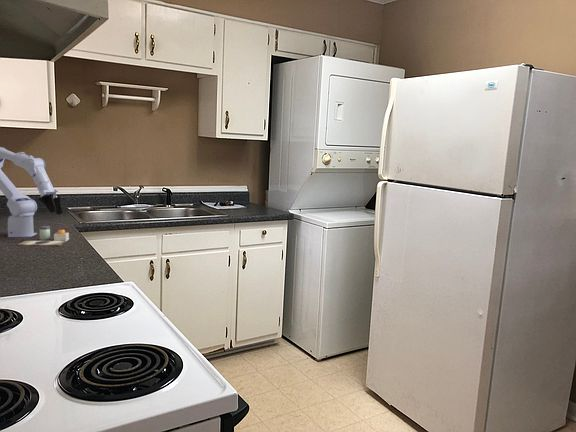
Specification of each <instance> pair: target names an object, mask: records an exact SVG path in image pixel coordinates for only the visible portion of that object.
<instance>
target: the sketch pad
mask: <svg viewBox="0 0 576 432" xmlns="http://www.w3.org/2000/svg"><path fill="white" fill-rule="evenodd" d="M66 242H67V241H54V240H50V241H40V240H23V241H21V242H20V243H18V244H17V247H19V246H20V247H21V246H22V247H24V246H25V247H26V246H27V247H38V246H39V247H61V246H62V245H64V244H65V243H66Z"/></svg>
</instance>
